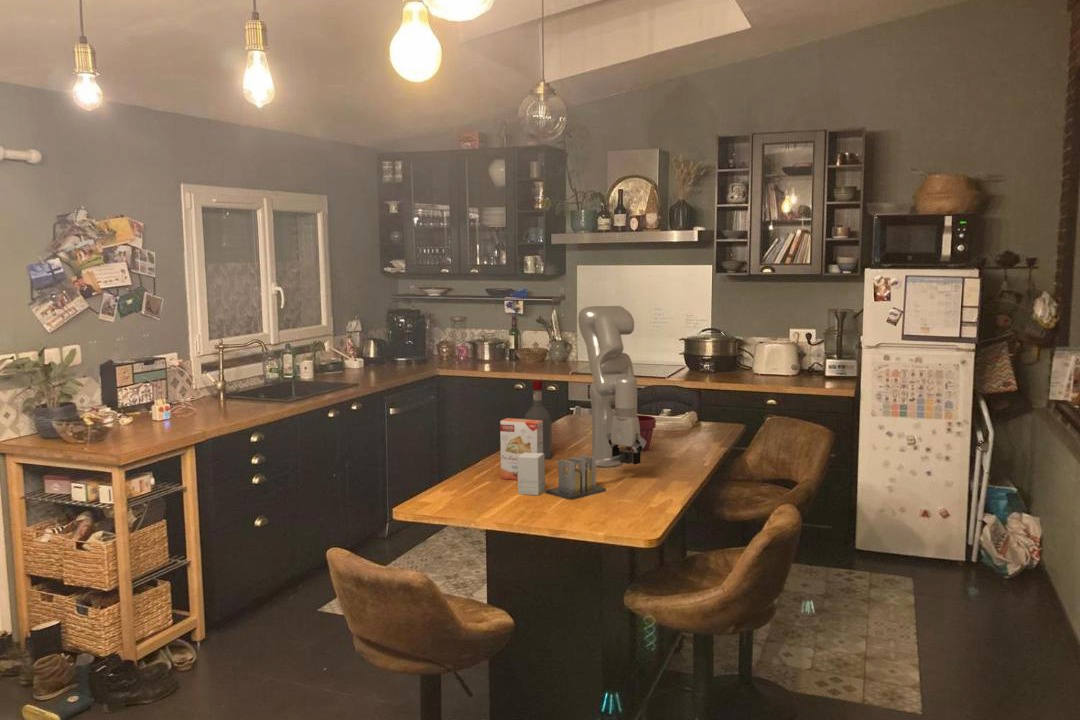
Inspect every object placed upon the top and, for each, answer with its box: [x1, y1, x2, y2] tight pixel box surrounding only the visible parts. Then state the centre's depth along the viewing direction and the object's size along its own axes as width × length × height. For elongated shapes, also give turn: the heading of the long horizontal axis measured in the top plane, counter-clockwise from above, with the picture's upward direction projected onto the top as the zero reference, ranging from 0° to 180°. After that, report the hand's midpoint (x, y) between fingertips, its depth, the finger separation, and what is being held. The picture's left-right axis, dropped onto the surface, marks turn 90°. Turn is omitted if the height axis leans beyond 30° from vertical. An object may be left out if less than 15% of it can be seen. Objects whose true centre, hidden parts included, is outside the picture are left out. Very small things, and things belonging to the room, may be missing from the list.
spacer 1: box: [565, 469, 580, 492], centre depth 291 cm, size 2×6×6 cm, turn 43°
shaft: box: [585, 449, 634, 469], centre depth 302 cm, size 20×4×4 cm, turn 133°
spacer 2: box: [576, 467, 592, 489], centre depth 295 cm, size 2×6×6 cm, turn 43°
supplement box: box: [517, 452, 546, 496], centre depth 292 cm, size 7×7×13 cm
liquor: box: [523, 379, 553, 460], centre depth 343 cm, size 9×9×30 cm
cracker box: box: [499, 417, 543, 481], centre depth 310 cm, size 14×6×21 cm, turn 68°
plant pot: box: [625, 414, 657, 451], centre depth 360 cm, size 14×14×13 cm
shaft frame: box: [544, 454, 607, 501], centre depth 292 cm, size 16×12×11 cm
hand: (626, 461), depth 309 cm, fingers open, 9 cm apart
